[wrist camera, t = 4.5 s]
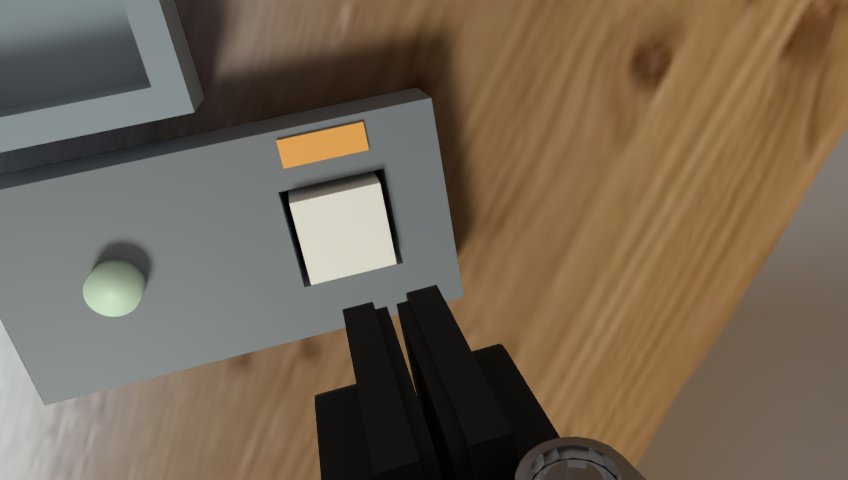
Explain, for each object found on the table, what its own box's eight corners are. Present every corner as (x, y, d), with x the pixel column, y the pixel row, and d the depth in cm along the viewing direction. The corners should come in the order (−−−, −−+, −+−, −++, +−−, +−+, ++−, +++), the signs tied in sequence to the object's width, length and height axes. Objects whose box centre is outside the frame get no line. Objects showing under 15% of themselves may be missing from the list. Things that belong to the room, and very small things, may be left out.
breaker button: (370, 164, 24) (379, 182, 22) (386, 239, 25) (396, 264, 23) (287, 182, 24) (289, 203, 21) (308, 258, 25) (311, 285, 23)
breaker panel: (416, 87, 24) (436, 101, 21) (447, 271, 27) (469, 306, 24) (-25, 180, 22) (-73, 210, 19) (65, 368, 25) (36, 419, 22)
